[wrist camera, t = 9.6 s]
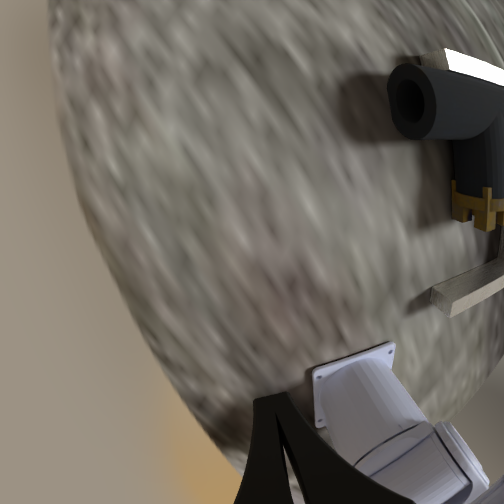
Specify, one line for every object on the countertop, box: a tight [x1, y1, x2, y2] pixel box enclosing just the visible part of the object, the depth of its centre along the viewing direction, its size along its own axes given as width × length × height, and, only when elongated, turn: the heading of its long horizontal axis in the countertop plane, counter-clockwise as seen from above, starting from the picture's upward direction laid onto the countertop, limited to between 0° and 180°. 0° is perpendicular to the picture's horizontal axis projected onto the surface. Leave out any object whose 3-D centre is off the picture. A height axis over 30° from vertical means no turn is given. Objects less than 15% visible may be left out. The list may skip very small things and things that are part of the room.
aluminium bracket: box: [419, 49, 504, 318], centre depth 17 cm, size 21×13×3 cm, turn 10°
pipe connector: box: [387, 63, 504, 232], centre depth 15 cm, size 12×5×15 cm
